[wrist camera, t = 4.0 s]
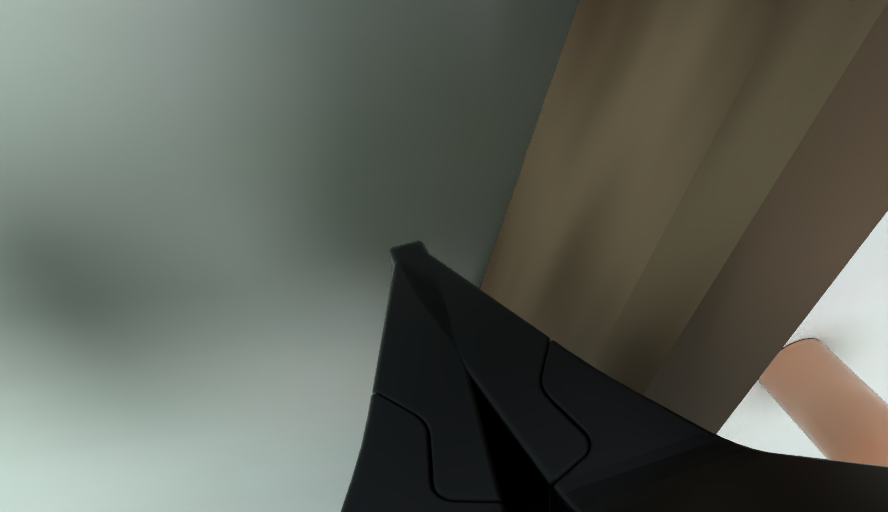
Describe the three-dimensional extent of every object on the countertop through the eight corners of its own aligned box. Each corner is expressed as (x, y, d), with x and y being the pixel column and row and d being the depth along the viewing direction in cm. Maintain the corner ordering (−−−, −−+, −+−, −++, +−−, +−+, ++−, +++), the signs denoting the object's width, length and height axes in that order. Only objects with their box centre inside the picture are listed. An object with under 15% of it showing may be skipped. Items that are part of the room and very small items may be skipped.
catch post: (810, 377, 21) (985, 556, 16) (751, 394, 20) (911, 582, 15) (833, 331, 19) (1033, 512, 14) (769, 349, 19) (953, 540, 14)
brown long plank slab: (461, 474, 18) (524, 682, 13) (404, 479, 17) (453, 699, 13) (729, -172, 9) (1170, -157, 5) (631, -210, 8) (1034, -232, 4)
